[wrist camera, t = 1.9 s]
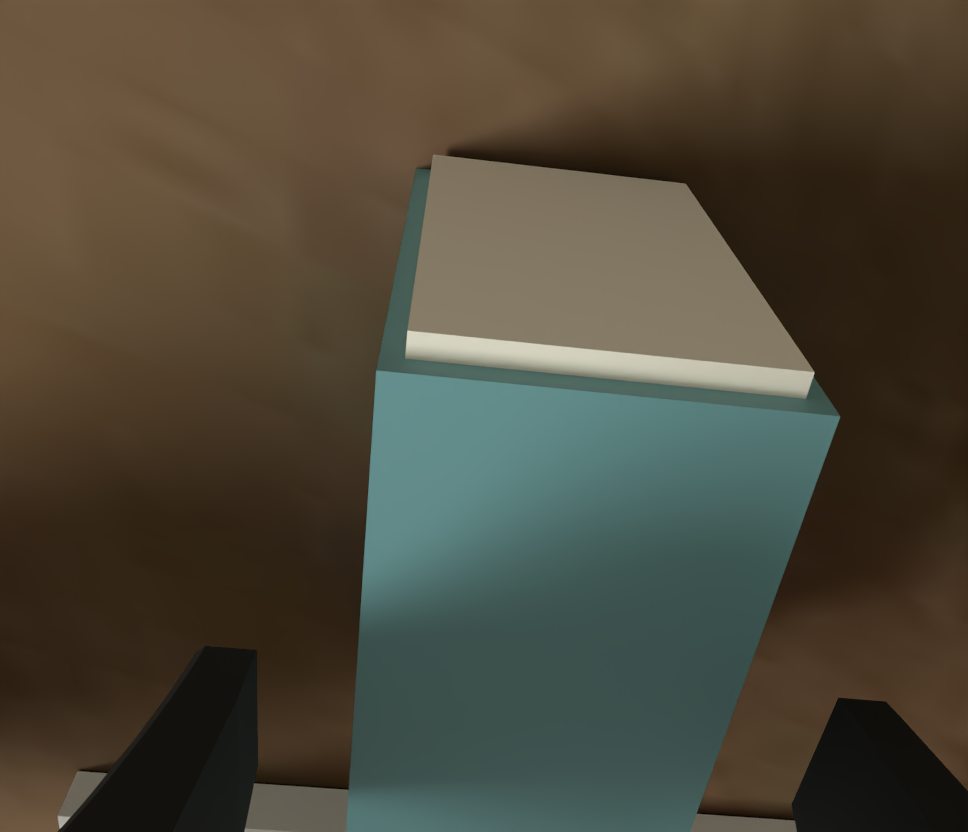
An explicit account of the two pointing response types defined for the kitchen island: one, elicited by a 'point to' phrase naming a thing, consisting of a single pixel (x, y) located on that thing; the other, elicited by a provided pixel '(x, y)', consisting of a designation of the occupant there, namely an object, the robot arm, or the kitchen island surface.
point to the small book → (569, 505)
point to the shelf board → (323, 812)
